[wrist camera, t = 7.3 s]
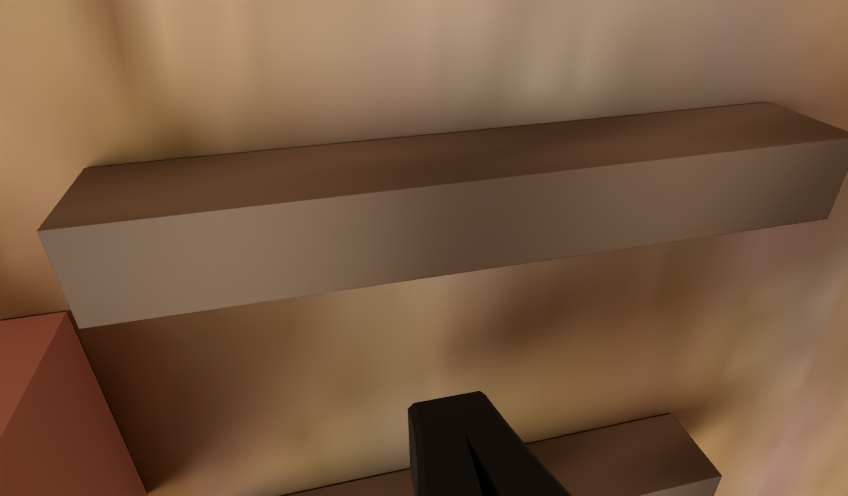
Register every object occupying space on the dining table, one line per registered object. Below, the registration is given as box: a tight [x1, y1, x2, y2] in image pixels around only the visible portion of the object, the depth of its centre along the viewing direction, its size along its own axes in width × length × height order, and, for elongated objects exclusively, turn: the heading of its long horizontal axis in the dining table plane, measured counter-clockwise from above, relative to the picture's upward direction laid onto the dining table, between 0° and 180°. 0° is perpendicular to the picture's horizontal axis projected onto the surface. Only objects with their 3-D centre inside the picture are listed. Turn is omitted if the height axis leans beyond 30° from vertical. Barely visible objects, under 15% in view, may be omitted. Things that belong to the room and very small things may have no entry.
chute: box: [37, 102, 848, 496], centre depth 11 cm, size 12×10×2 cm
